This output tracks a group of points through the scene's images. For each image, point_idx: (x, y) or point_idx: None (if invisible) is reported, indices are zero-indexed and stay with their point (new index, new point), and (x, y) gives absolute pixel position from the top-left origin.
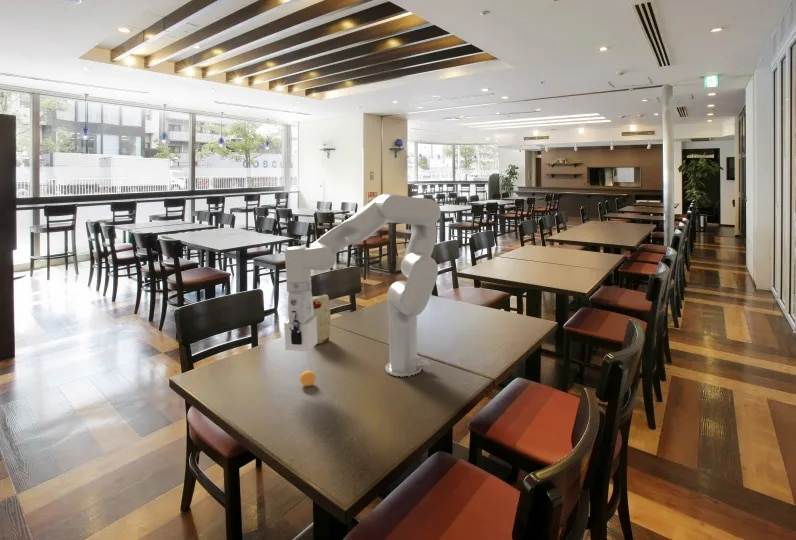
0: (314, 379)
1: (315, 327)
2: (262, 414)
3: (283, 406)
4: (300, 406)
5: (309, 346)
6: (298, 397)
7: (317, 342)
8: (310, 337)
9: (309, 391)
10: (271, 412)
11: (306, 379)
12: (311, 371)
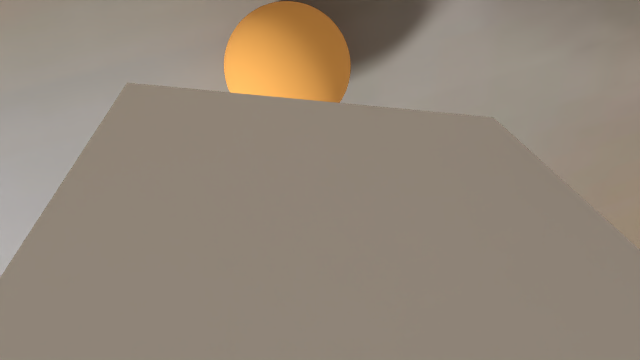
0: (309, 6)
1: (139, 245)
2: (631, 204)
3: (565, 127)
4: (584, 24)
5: (492, 140)
6: (460, 71)
7: (126, 84)
8: (487, 198)
9: (375, 18)
10: (620, 168)
11: (349, 67)
12: (271, 53)
